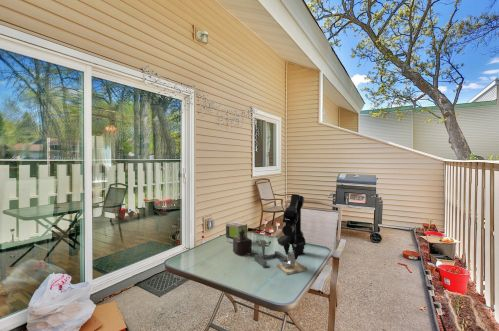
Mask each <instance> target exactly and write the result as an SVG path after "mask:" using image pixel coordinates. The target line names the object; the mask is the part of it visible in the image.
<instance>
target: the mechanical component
mask: <svg viewBox="0 0 499 331" xmlns="http://www.w3.org/2000/svg"><path fill="white" fill-rule="evenodd" d="M255 243H256V246H257V247H261V249H262V250H261V251H262V252H261V254H262V255H261V256H265V254H266V252H265V249H266V247H267V248H268V247H270V245H271V244H272V241H271V240H268V241H266V239H256V240H255Z"/></svg>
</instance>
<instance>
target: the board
mask: <svg viewBox="0 0 499 331" xmlns="http://www.w3.org/2000/svg"><path fill="white" fill-rule="evenodd" d="M282 263H283V262H281V263H279V264H278V263H277V264H275V267H276V268H277V269H278V270H280V271H281V272H282V273H283V274H286V275H291V274H295V273H300V272H304V271H308V267H306V266H305V265H303V264H302V263H300V262H299V261H297V260H295V267H291V268H287V269H284V268H283V267H282Z"/></svg>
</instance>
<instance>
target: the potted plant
mask: <svg viewBox="0 0 499 331" xmlns="http://www.w3.org/2000/svg"><path fill="white" fill-rule="evenodd" d="M239 234H240V236H239V237H237V238H233V243H232V252H233V253H234V254H235V255H238V256H244V255H250V254H252V251H253V250H252V249H253V248H252V247H253V246H252V244H253V243H252V242H253V240H252V239H251V238H249V237H248V236H247V237H246V234H245V231H243V229H241V231H239ZM243 235H244V236H243Z"/></svg>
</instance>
